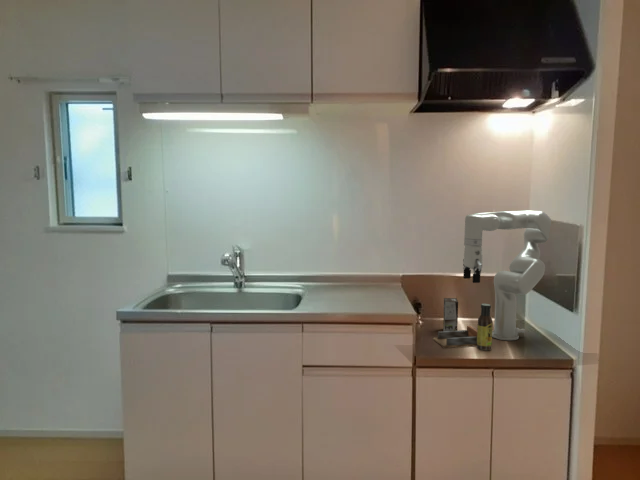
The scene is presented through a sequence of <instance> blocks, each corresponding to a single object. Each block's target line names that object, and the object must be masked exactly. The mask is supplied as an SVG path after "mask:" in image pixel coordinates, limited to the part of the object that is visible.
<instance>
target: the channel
mask: <svg viewBox="0 0 640 480" xmlns="http://www.w3.org/2000/svg"><path fill="white" fill-rule="evenodd" d="M432 340H433V341H435V342H436V343H437V344H439V346H441V347H442V348H443V349H448V348H466V347H467V348H469V347H477V329H476V328H474V327H473V326H472V325H466V329H465V330H464V329H463V330H457V331H444V330H443V331H442V330H441V331H437V337H432Z"/></svg>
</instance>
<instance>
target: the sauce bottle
mask: <svg viewBox="0 0 640 480" xmlns="http://www.w3.org/2000/svg"><path fill="white" fill-rule="evenodd" d="M491 307H492V305H491V304H489V303H481V304H480V308H481V309H480V311H481V312H480V315H479V317H478V318H477V325H476V326H477V327H476V328H477V329H476V330H477V346H476V348H477V349H478V350H480V351H490V350H492V345H493V337H492V331H493V328H494V322H493V318H492V316H491Z"/></svg>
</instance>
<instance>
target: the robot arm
mask: <svg viewBox="0 0 640 480" xmlns="http://www.w3.org/2000/svg"><path fill="white" fill-rule="evenodd" d="M551 220H552V218H551V217H550V216H549V215H548V214H547V213H546V212H545V211H542V210H529V209H523V210H509V211H508V210H507V211H506V210H505V211H495V212H494V211H493V212H492V211H491V212H478V213H477V212H475V213H473V214H467V215H465V218H464V238H463V241H464V243H463V246H464V250H463V251H464V253H463V260H462V264H463V265H462V266H463V267H462V269H463V277H462V278H463V279H465V280H467V279H471V274H472V283H473V284H479V283H481V274H482V271H483V270H482V268H483V247H482V246H483V231H486V232H493V231H496V230H505V231H509V230H517V229H518V230H520V229H524V233H523V248H522V249H521V251H519V253H518V254H517V255H516V256H515V257H514V258H513V260H511V262H510V264H509V267H508V269H509V270H500V271H497V272H496V273H495V275H494V277H493V285H494V287H493V288H494V295H495V297H494V298H495V299H494V322H493V330H492V339H493V338H494V339H496V340H500V341H516V340H518V339H519V338H520V336H519V334H522V333H526V329H525V328H519V327H517V306H518V304H517V303H518V300H517V296H516V295H520V296H521V295H522V296H524V295H527V294H529V293H530V292H531V291H532V290H533V289H534V288H535V286H536V285H537V284H538V283H539V282H540V281H541V280H542V278H543V277H544V275H545V271H546V265H545V262H543V260H542V259H540V258H541V249H540V246H539V244H542V245H544V244H543V243H545V242H546V241H547V240H548V238H549V232H550V226H551ZM538 246H539V247H538ZM471 272H473V273H471Z"/></svg>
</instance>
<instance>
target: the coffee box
mask: <svg viewBox="0 0 640 480" xmlns="http://www.w3.org/2000/svg"><path fill="white" fill-rule="evenodd" d="M458 315H459V300H458V299H457V297H456V298H455V297H444V298H443V320H442V321H443V324H442V325H443V327H442V330H443V331H458V317H459V316H458Z"/></svg>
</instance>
